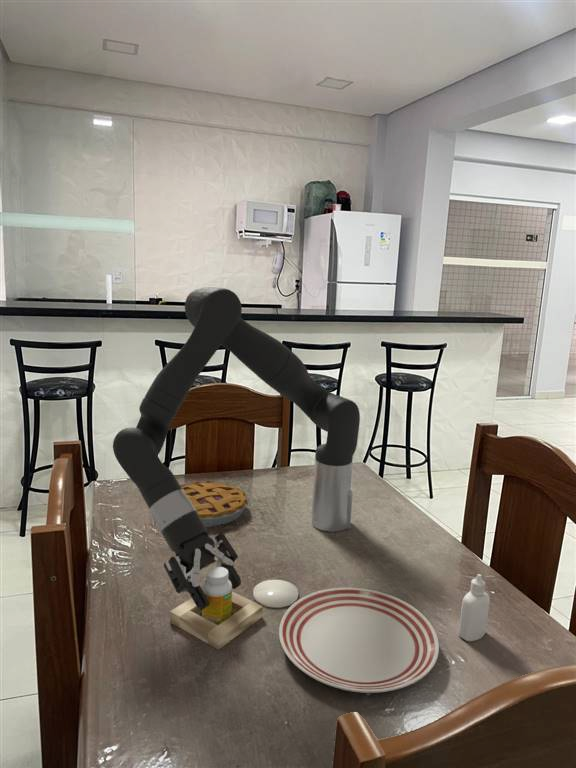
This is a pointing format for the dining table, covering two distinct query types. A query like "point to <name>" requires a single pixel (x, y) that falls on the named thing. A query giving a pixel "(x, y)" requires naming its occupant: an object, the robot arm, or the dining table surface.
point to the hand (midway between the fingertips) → (222, 596)
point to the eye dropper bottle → (474, 611)
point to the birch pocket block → (210, 632)
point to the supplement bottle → (217, 595)
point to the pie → (216, 502)
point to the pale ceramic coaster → (275, 593)
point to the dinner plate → (359, 640)
